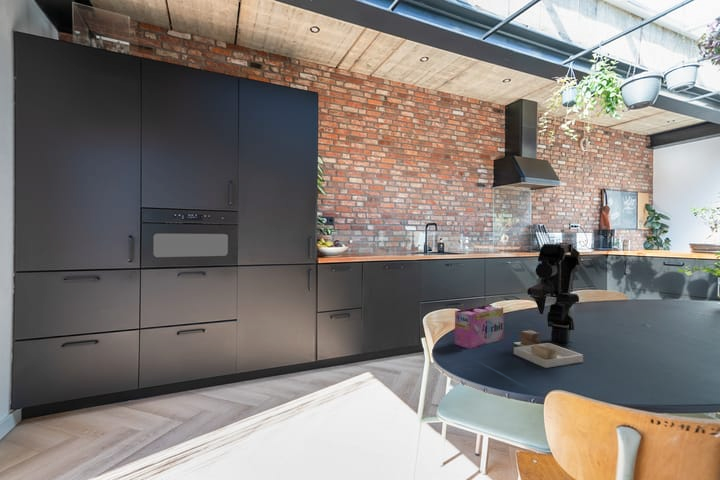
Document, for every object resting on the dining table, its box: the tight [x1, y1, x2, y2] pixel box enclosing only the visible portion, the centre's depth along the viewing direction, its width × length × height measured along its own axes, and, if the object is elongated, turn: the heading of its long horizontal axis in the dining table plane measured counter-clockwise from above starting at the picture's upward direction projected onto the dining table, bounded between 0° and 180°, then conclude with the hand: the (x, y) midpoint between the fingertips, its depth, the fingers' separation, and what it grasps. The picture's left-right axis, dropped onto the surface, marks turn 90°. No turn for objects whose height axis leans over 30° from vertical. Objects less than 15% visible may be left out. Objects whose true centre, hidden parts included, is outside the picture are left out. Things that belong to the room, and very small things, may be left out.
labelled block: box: [520, 330, 541, 346], centre depth 138 cm, size 5×5×5 cm
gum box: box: [454, 304, 505, 350], centre depth 144 cm, size 24×8×14 cm, turn 125°
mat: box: [514, 341, 525, 347], centre depth 138 cm, size 9×9×1 cm
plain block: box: [531, 345, 557, 360], centre depth 119 cm, size 5×6×5 cm
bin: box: [513, 342, 584, 369], centre depth 124 cm, size 17×14×3 cm
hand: (551, 316), depth 133 cm, fingers open, 9 cm apart
